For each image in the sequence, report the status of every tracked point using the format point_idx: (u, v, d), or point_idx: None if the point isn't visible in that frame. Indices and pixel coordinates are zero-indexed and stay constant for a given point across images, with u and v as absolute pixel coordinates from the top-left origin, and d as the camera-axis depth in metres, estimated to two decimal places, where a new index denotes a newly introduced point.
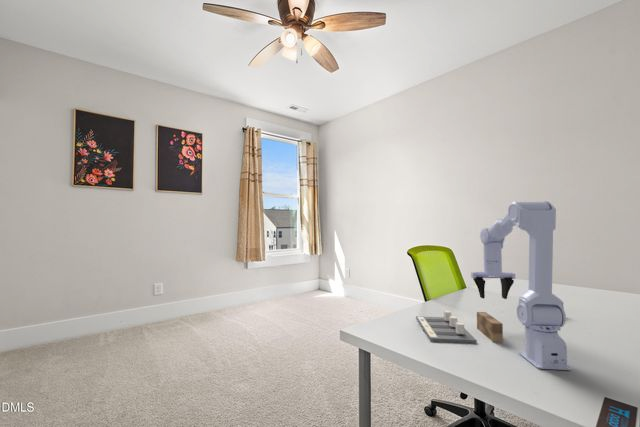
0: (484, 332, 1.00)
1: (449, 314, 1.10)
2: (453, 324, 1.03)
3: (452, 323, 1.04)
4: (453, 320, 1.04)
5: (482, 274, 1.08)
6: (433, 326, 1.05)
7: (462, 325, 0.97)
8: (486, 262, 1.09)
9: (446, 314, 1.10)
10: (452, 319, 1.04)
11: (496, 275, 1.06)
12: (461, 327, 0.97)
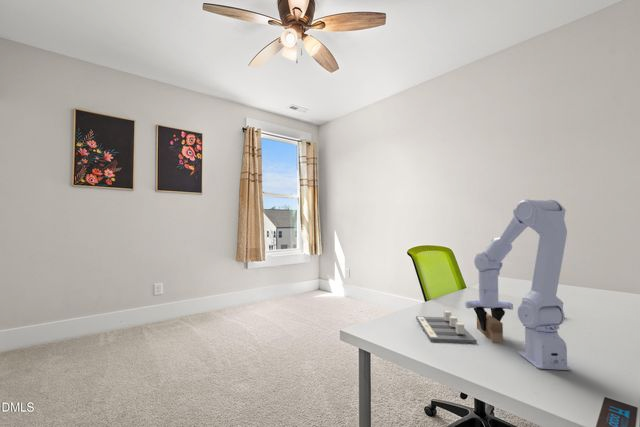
0: (484, 332, 1.00)
1: (449, 314, 1.10)
2: (453, 324, 1.03)
3: (452, 323, 1.04)
4: (453, 320, 1.04)
5: (477, 304, 0.99)
6: (433, 326, 1.05)
7: (462, 325, 0.97)
8: (481, 291, 1.00)
9: (446, 314, 1.10)
10: (452, 319, 1.04)
11: (492, 306, 0.97)
12: (461, 327, 0.97)
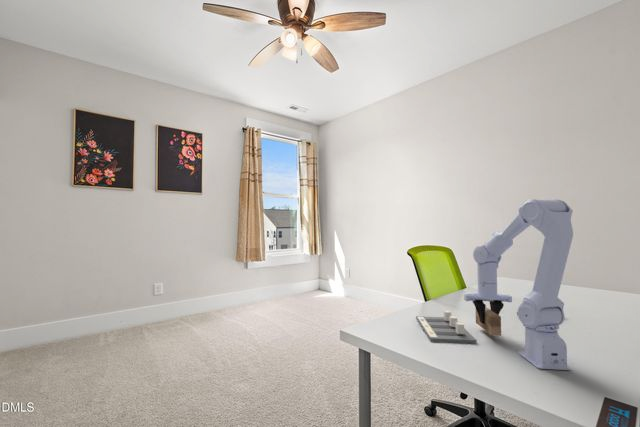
0: (483, 325, 1.00)
1: (449, 314, 1.10)
2: (453, 324, 1.03)
3: (452, 323, 1.04)
4: (453, 320, 1.04)
5: (476, 297, 0.99)
6: (433, 326, 1.05)
7: (462, 325, 0.97)
8: (480, 284, 1.00)
9: (446, 314, 1.10)
10: (452, 319, 1.04)
11: (491, 298, 0.97)
12: (461, 327, 0.97)
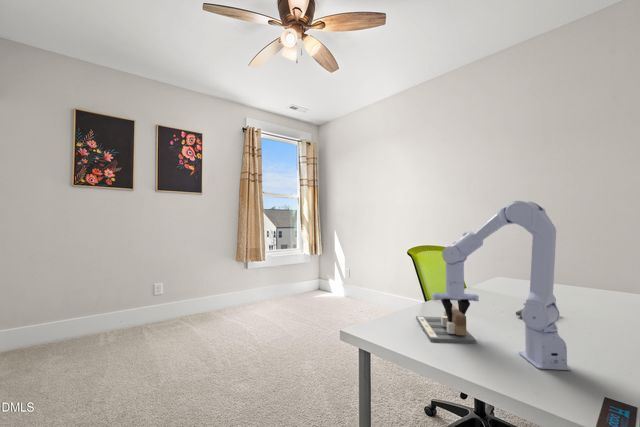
0: None
1: None
2: (445, 324, 1.04)
3: (444, 323, 1.04)
4: (445, 320, 1.04)
5: (443, 296, 1.00)
6: (433, 326, 1.05)
7: (453, 325, 0.97)
8: (447, 283, 1.01)
9: None
10: (444, 319, 1.04)
11: (457, 297, 0.99)
12: (452, 327, 0.97)
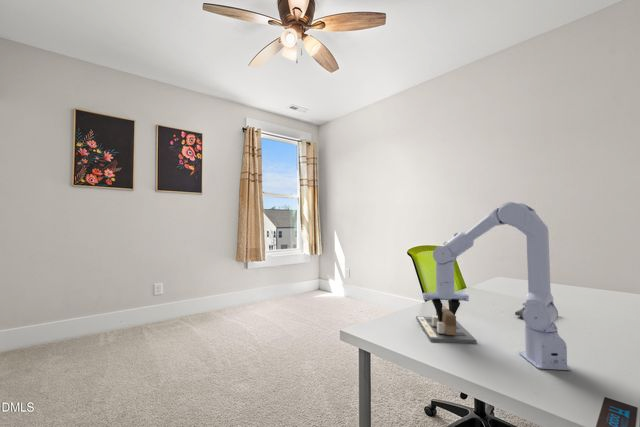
0: None
1: None
2: (435, 323, 1.04)
3: (434, 322, 1.04)
4: (435, 319, 1.04)
5: (433, 296, 1.01)
6: (433, 326, 1.05)
7: (443, 324, 0.98)
8: (438, 283, 1.01)
9: None
10: (434, 318, 1.04)
11: (447, 297, 0.99)
12: (442, 326, 0.98)
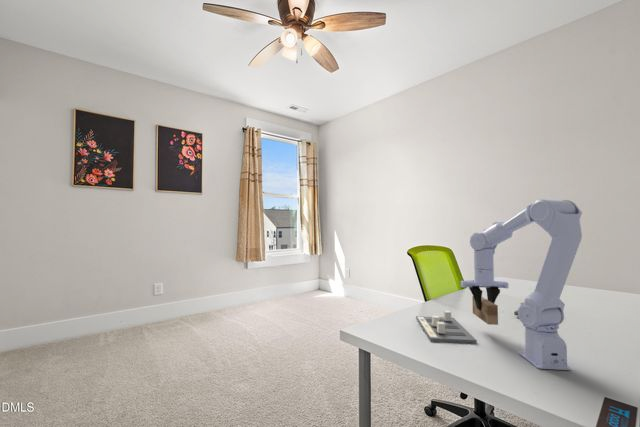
0: (479, 315, 1.00)
1: (449, 314, 1.10)
2: (435, 323, 1.04)
3: (434, 322, 1.04)
4: (435, 319, 1.04)
5: (472, 283, 0.99)
6: (433, 326, 1.05)
7: (443, 324, 0.98)
8: (477, 270, 1.00)
9: (446, 314, 1.10)
10: (434, 318, 1.04)
11: (487, 284, 0.98)
12: (442, 326, 0.98)
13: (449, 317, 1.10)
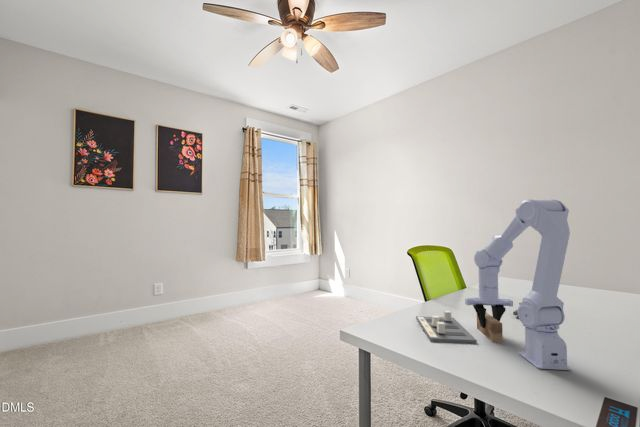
0: (484, 332, 1.00)
1: (449, 314, 1.10)
2: (435, 323, 1.04)
3: (434, 322, 1.04)
4: (435, 319, 1.04)
5: (477, 301, 0.99)
6: (433, 326, 1.05)
7: (443, 324, 0.98)
8: (481, 288, 1.00)
9: (446, 314, 1.10)
10: (434, 318, 1.04)
11: (492, 303, 0.97)
12: (442, 326, 0.98)
13: (449, 317, 1.10)
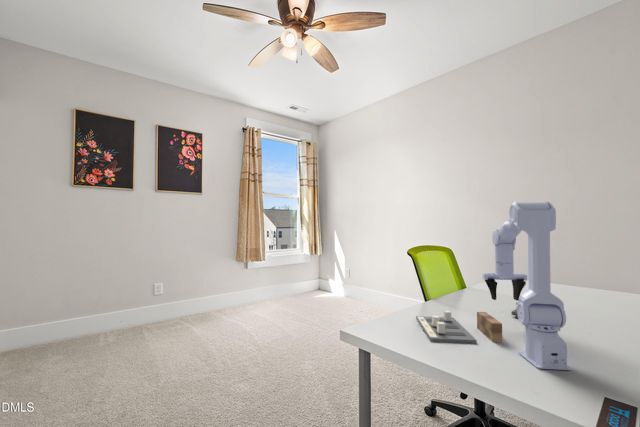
0: (484, 332, 1.00)
1: (449, 314, 1.10)
2: (435, 323, 1.04)
3: (434, 322, 1.04)
4: (435, 319, 1.04)
5: (494, 276, 1.08)
6: (433, 326, 1.05)
7: (443, 324, 0.98)
8: (498, 264, 1.09)
9: (446, 314, 1.10)
10: (434, 318, 1.04)
11: (508, 277, 1.06)
12: (442, 326, 0.98)
13: (449, 317, 1.10)
